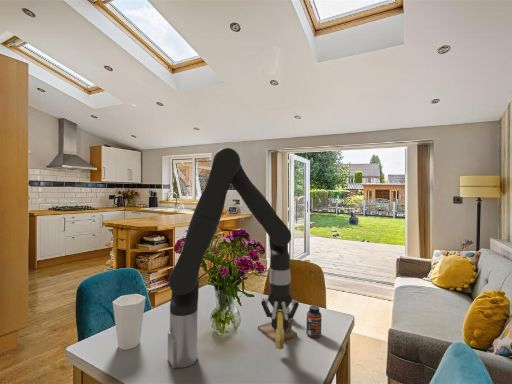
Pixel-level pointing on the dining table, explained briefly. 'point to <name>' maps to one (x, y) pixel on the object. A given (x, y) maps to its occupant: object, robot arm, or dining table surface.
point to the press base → (272, 334)
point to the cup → (128, 320)
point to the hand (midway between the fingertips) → (279, 328)
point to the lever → (279, 329)
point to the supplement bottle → (313, 322)
